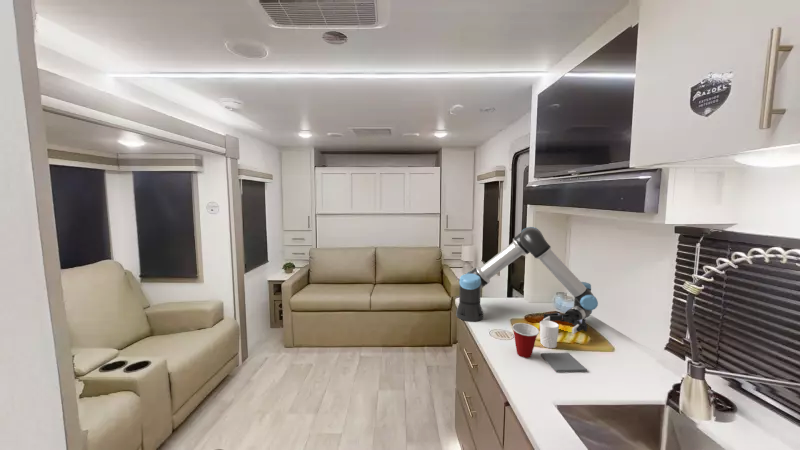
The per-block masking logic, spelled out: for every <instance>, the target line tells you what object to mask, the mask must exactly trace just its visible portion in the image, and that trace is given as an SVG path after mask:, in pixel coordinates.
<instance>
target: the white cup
mask: <svg viewBox="0 0 800 450" xmlns="http://www.w3.org/2000/svg"><path fill="white" fill-rule="evenodd" d="M559 326H560V325H559V324H558V323H557V322H555V321H543V320H541V321H539V340H540V343H541V344H542V345H543V347H545V348H547V349H555V348H557V346H558V337H559V330H560V329H559ZM540 343H539V344H540ZM541 344H540V345H541ZM542 345H541V346H542Z"/></svg>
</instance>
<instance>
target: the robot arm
mask: <svg viewBox="0 0 800 450" xmlns="http://www.w3.org/2000/svg"><path fill="white" fill-rule="evenodd" d="M529 253H530V254H531V255H532V256H533V257H534V259H536V260H537V259H538V260H539V261H540V262H541V263H542V264H543V265H544V266H545V267H546V268H547V269H548V271H550V272H551V274H552V275H553V276H554V277H555V278H556V279H557V280H558V281H559V282H560V284H561V285H562V286H563V288H565V289H566V290H567V291H568V292H569V293H570V294H571V295H572V296H573V298H574V300H573V307H571V308H569V309H567V310H566V311H565V312H564V313H560V311H556V312H551V313H550V312H549V313H544V314H543V319H542V321H552V322H555V321H556V322H557V321H558V322H561V323H562V322H563V323H564V322H565V323H569V324H570V323H572V324H571V325H573V327H572V328H571V334H572V335H575V334H576V333H577V332H580V331H584V332H587V331H588V325H587V323H586V322H587V321H586V318H588V317H590V315H591V314H592V312H593V311H594V310H595V309H597V308H598V306H599V301H598V298H596V296H595V295H594V294H593V293H592V285H591V283H590V282H586V281H581V280H580V279H579V278H578V277H577V276H576V274H575V273H574V272H572V271H571V270H570V268H569V267H568V266H567V265H566V264H565V263H564V262H563V261H562V260H561V259H560V258H559V257H558V256H557V254H555V252H554V251H553V250H552V246H551V245H550V244H549V243H548V242H547V240H546V239H545V237H544V235H543V233H542V232H541V230H540V229H538V228H537V227H534V226H528V227H525V228H523V229H522V230H521V232H519V233H518V234H517V235H516V236H514V237H513V238H512V242H511V243H510V244H509V245H507V246H506V247H505V248H503V249H502V250H501V251H499V252H498V253H497V254H495V255H494V256H493V257H492V258H491V259H489V260H487V262H485V263H484V264H483V265H481V266H476V267H475V268H473V269H471V271H468V272H467V273H465V274H462V275H461V276H460V277H459V281H458V283H459V299H458V300H459V303H458V305H457V308H456V311H455V317H456V318H458V319H460V320H462V321H464V322H465V321H466V322H478V321H482V320H483V318H484V312H483V311H484V310H483V308H482V306H481V294H482V293H481V292H482V291H481V290H482V289H483V288H484V287H486V286H487V285H488V284H490V282H491V281H490V279H491V278H493V277H495V276H496V275H497V274H498V273H500V272H501V271H503V269H505V268H506V267H507V266H509V265H510V264H511V263H514V262H515V261H516V260H517V259H518V258H520V257H521V256H522V255H528V254H529Z"/></svg>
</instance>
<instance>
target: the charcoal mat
mask: <svg viewBox="0 0 800 450" xmlns="http://www.w3.org/2000/svg"><path fill="white" fill-rule="evenodd" d="M540 356H541V358H542V359H544V361H545V362H546V363H547V364H548V365H549V366H550V367H551V368H552V369H553V370H554V372H556V373H587V372H588V369H587V368H586V366H584V365H583V364H582V363H580V362H579V361H578V360H577V359H576V358H575V357H574V356H573V355H572V354H570V353H569V352H544V353H543V352H541V353H540Z"/></svg>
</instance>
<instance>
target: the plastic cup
mask: <svg viewBox="0 0 800 450" xmlns="http://www.w3.org/2000/svg"><path fill="white" fill-rule="evenodd" d="M511 329H512V330H513V334H514V342H515V348H516V349H515V350H516V354H517V355H518V357H521V358H524V359H529V358H531V357H532V356H533V350H534V347H535V344H536V340H537V337H538V335H540V329H539V328H537V327H536V326H534V325H532V324H529V323H524V322H518V323H517V322H516V323H514V324H513V325H512V327H511Z"/></svg>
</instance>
